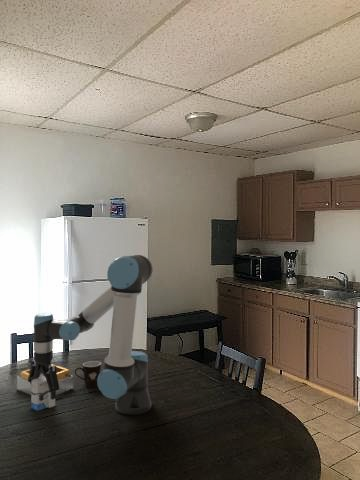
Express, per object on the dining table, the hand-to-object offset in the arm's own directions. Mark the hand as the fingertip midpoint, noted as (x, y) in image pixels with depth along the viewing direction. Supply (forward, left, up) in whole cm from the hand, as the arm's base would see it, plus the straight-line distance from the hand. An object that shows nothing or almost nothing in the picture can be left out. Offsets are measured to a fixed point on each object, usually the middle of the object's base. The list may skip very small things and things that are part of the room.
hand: (43, 402), depth 166 cm
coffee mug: (+3, -28, -2) cm, 28 cm away
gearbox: (+17, -12, -2) cm, 21 cm away
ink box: (0, 0, -2) cm, 2 cm away
